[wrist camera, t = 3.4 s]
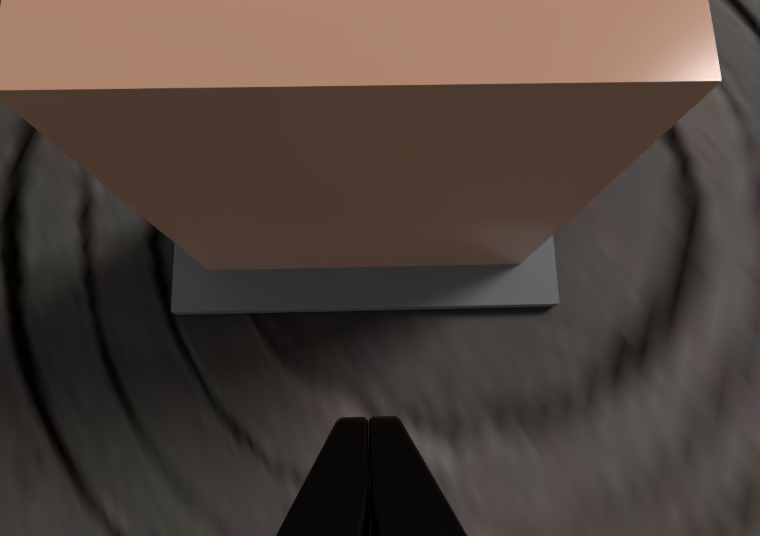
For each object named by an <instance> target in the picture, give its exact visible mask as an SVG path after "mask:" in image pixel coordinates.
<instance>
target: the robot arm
mask: <svg viewBox="0 0 760 536" xmlns="http://www.w3.org/2000/svg"><path fill="white" fill-rule="evenodd" d="M369 473H370V487H369ZM370 523H371V536H467V534H466V533H465V531H464V529H463V527H462V526H461V524H460V522H459V521H458V519H457V517H456V515H455V514H454V512H453V510H452V508H451V507H450V505H449V503H448V501H447V500H446V498H445V496H444V495H443V493H442V491H441V489H440V488H439V486H438V484H437V482H436V481H435V479H434V477H433V475H432V474H431V472H430V470H429V469H428V467H427V465H426V463H425V462H424V460H423V458H422V456H421V455H420V453H419V451H418V449H417V448H416V446H415V444H414V443H413V441H412V439H411V437H410V436H409V434H408V432H407V430H406V429H405V427H404V425H403V423H402V422H401V420H400V419H399V418H398V417H396V416H381V417H372V418H370V420H369V437H368V420H367V419H366V418H365V417H343V418H340V419H338V420H337V422H336V423H335V425H334V427H333V428H332V430H331V432H330V434H329V436H328V438H327V440H326V442H325V444H324V446H323V447H322V449H321V451H320V453H319V455H318V457H317V459H316V461H315V463H314V465H313V466H312V468H311V470H310V472H309V474H308V476H307V478H306V480H305V482H304V484H303V485H302V487H301V489H300V491H299V493H298V495H297V497H296V499H295V501H294V502H293V504H292V506H291V508H290V510H289V512H288V514H287V516H286V518H285V520H284V521H283V523H282V525H281V527H280V529H279V531H278V533H277V535H276V536H370Z"/></svg>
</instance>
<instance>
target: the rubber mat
mask: <svg viewBox="0 0 760 536" xmlns="http://www.w3.org/2000/svg"><path fill="white" fill-rule="evenodd" d="M558 304H559V293H558V283H557V272H556V261H555V250H554V240H553V235H552V236H551V237H550V238H549V239H548V240H547V241H546V242H544V243H543V244H542V245H541V246H540V247H539V248H538V249H537V250H536V251H535V252H533V253H532V254H531V255H530V256H529V257H528V258H527V259H526V260H525V261H524V262H522V263H521V264H487V265H438V266H389V267H340V268H291V269H242V270H207V269H206V268H205V267H203V266H202V265H201V264H200V263H199V262H197V261H196V260H195V259H194V258H192V257H191V256H190V255H189V254H188V253H186V252H185V251H184V250H183V249H182V248H180V247H179V246H178V245H177V244H175V243H174V261H173V280H172V299H171V313H174V314H176V315H191V314H236V313H281V312H326V311H371V310H417V309H462V308H507V307H552V306H556V305H558Z"/></svg>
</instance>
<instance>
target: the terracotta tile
mask: <svg viewBox="0 0 760 536" xmlns="http://www.w3.org/2000/svg"><path fill="white" fill-rule="evenodd" d="M721 81H722V79H721V73H720V67H719V61H718V55H717V49H716V43H715V37H714V31H713V26H712V20H711V14H710V8H709V2H708V0H1V8H0V99H1V100H2V101H3V102H4V103H5V104H7V105H8V106H9V107H10V108H11V109H13V110H14V111H15V112H16V113H18V114H19V115H20V116H21V117H22V118H24V119H25V120H26V121H27V122H28V123H30V124H31V125H32V126H33V127H35V128H36V129H37V130H38V131H39V132H41V133H42V134H43V135H44V136H45V137H47V138H48V139H49V140H50V141H52V142H53V143H54V144H55V145H56V146H58V147H59V148H60V149H61V150H62V151H64V152H65V153H66V154H67V155H69V156H70V157H71V158H72V159H73V160H75V161H76V162H77V163H78V164H79V165H81V166H82V167H83V168H84V169H86V170H87V171H88V172H89V173H90V174H92V175H93V176H94V177H95V178H97V179H98V180H99V181H100V182H101V183H103V184H104V185H105V186H106V187H107V188H109V189H110V190H111V191H112V192H114V193H115V194H116V195H117V196H118V197H120V198H121V199H122V200H123V201H124V202H126V203H127V204H128V205H129V206H131V207H132V208H133V209H134V210H135V211H137V212H138V213H139V214H140V215H141V216H143V217H144V218H145V219H146V220H148V221H149V222H150V223H151V224H152V225H154V226H155V227H156V228H157V229H158V230H160V231H161V232H162V233H163V234H165V235H166V236H167V237H168V238H169V239H171V240H172V241H173V242H174V243H175V244H177V245H178V246H179V247H180V248H182V249H183V250H184V251H185V252H186V253H188V254H189V255H190V256H191V257H192V258H194V259H195V260H196V261H197V262H199V263H200V264H201V265H202V266H203V267H205V268H206V269H207V270H242V269H291V268H340V267H389V266H438V265H487V264H521V263H522V262H524V261H525V260H526V259H527V258H528V257H529V256H530V255H531V254H532V253H533V252H535V251H536V250H537V249H538V248H539V247H540V246H541V245H542V244H543V243H544V242H546V241H547V240H548V239H549V238H550V237H551V236H552V235H553V234H554V233H555V232H556V231H558V230H559V229H560V228H561V227H562V226H563V225H564V224H565V223H566V222H567V221H569V220H570V219H571V218H572V217H573V216H574V215H575V214H576V213H577V212H578V211H580V210H581V209H582V208H583V207H584V206H585V205H586V204H587V203H588V202H589V201H591V200H592V199H593V198H594V197H595V196H596V195H597V194H598V193H599V192H600V191H601V190H603V189H604V188H605V187H606V186H607V185H608V184H609V183H610V182H611V181H612V180H614V179H615V178H616V177H617V176H618V175H619V174H620V173H621V172H622V171H623V170H625V169H626V168H627V167H628V166H629V165H630V164H631V163H632V162H633V161H634V160H635V159H637V158H638V157H639V156H640V155H641V154H642V153H643V152H644V151H645V150H646V149H648V148H649V147H650V146H651V145H652V144H653V143H654V142H655V141H656V140H657V139H659V138H660V137H661V136H662V135H663V134H664V133H665V132H666V131H667V130H668V129H670V128H671V127H672V126H673V125H674V124H675V123H676V122H677V121H678V120H679V119H680V118H682V117H683V116H684V115H685V114H686V113H687V112H688V111H689V110H690V109H691V108H693V107H694V106H695V105H696V104H697V103H698V102H699V101H700V100H701V99H702V98H704V97H705V96H706V95H707V94H708V93H709V92H710V91H711V90H712V89H713V88H714V87H716V86H717V85H718V84H719V83H720V82H721Z"/></svg>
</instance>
